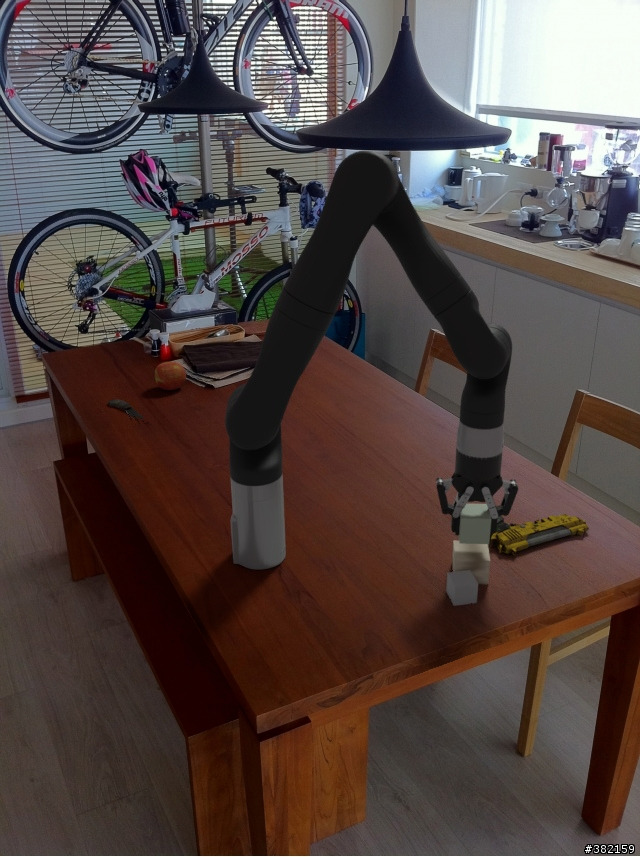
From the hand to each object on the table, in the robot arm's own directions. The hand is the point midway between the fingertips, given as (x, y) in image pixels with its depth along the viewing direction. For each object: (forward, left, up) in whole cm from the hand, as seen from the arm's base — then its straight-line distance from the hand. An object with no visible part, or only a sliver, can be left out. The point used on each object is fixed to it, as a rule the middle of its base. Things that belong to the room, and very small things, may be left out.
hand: (472, 533), depth 136 cm
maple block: (0, 0, -8) cm, 8 cm away
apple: (-76, +84, -9) cm, 114 cm away
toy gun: (+12, +16, -9) cm, 22 cm away
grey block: (-2, -7, -8) cm, 11 cm away
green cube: (0, 0, 0) cm, 0 cm away
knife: (-80, +63, -9) cm, 103 cm away
